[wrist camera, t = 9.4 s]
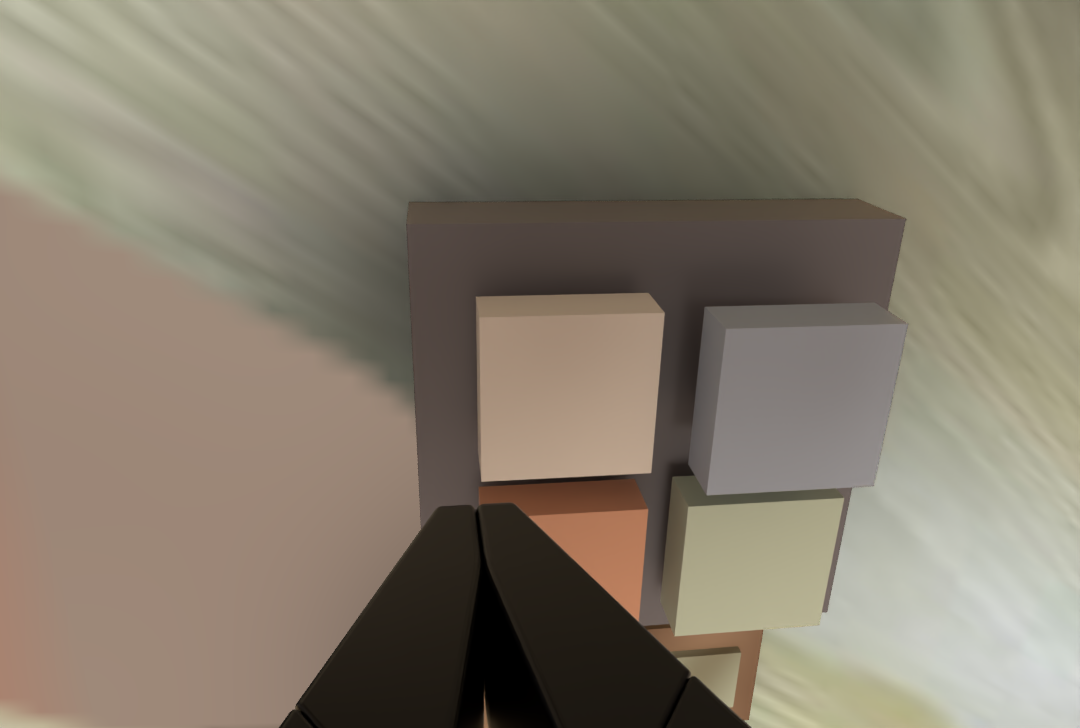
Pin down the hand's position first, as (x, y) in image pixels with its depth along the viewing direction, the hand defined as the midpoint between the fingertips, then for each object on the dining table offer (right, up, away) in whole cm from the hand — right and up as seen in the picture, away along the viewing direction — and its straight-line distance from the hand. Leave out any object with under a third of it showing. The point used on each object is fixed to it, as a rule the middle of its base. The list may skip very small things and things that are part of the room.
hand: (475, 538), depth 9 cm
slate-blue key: (+6, +3, +13) cm, 14 cm away
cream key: (+1, +3, +13) cm, 13 cm away
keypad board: (+3, +1, +14) cm, 15 cm away
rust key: (+1, -2, +15) cm, 15 cm away
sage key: (+6, -2, +16) cm, 17 cm away
